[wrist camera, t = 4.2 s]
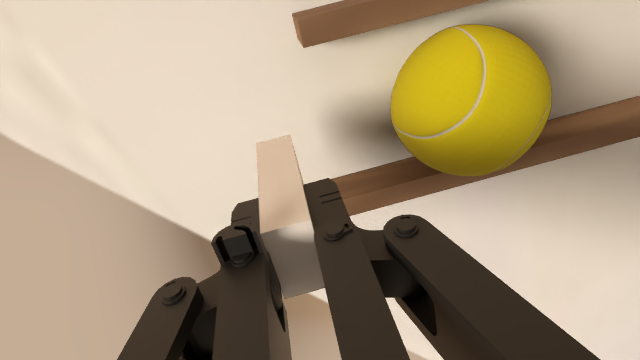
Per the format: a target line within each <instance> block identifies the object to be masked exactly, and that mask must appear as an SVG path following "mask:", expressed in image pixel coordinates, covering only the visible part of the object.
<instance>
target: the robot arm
mask: <svg viewBox="0 0 640 360" xmlns="http://www.w3.org/2000/svg"><path fill="white" fill-rule="evenodd" d="M257 168H258V192H259V198H256V199H253V200H249V201H245V202H242V203H238V204H237V205H236V207H235V209H234V210H233V212H232V217H231V222H232V223H231V225H230V226H228V227H226V228H224V229H222V230H221V231H219V232H218V233H217V234H216V235H215V236H214V238H213V240H212V242H211V244H212V246H213V248H214V250H215V253H216V255H217V257H218V259H219V262H220V264H221V268H220V270H219V271H218V272H217V273H216V274H214V275H213V276H211V277H209V278H207V279H205V280H204V281H201V282H200V283H198V284H197V283H196V281H195V280H194V279H192V278H190V277H181V278H177V279H174V280H172V281H170V282H168V283H166V284H164V285H163V286H162V287H161V288H159V289H158V290H157V292H156V293H155V294H154V296H153V297H152V299H151V300H150V302H149V304H148V306H147V307H146V309H145V311H144V313H143V315H142V316H141V318H140V320H139V322H138V324H137V325H136V327H135V329H134V331H133V332H132V334H131V336H130V338H129V339H128V341H127V343H126V345H125V346H124V348H123V350H122V352H121V354H120V355H119V357H118V359H117V360H292V357H291V348H290V339H289V330H288V321H287V312H286V309H285V307H284V304H283V302H282V293H283V296H284V299H287V298H290V297H294V296H297V295H301V294H305V293H308V292H312V291H315V290H319V289H322V288H325V289H326V294H327V298H328V302H329V307H330V311H331V315H332V319H333V323H334V328H335V333H336V336H337V341H338V345H339V350H340V354H341V358H342V360H410V359H409V356H408V354H407V351H406V348H405V346H404V344H403V341H402V339H401V336H400V334H399V331H398V329H397V326H396V324H395V321H394V319H393V316H392V314H391V311H390V309H389V307H388V304H387V302H386V299H385V298H395V300H396V302H397V303H398V304H399V305H400V307H401V308H402V309H403V310H404V312H405V313H406V314H407V315H408V316H409V318H410V319H411V320H412V321H413V322H414V324H415V325H416V326H417V327H418V329H419V330H420V331H421V332H422V333H423V335H424V336H425V337H426V338H427V340H428V341H429V342H430V343H431V344H432V346H433V347H434V348H435V349H436V350H437V352H438V353H439V354H440V355H441V357H442V358H443V359H444V360H600V359H599V358H598V357H596V356H595V355H594V354H593V353H591V352H590V351H589V350H588V349H586V348H585V347H584V346H583V345H581V344H580V343H579V342H578V341H576V340H575V339H574V338H573V337H571V336H570V335H569V334H568V333H566V332H565V331H564V330H563V329H561V328H560V327H559V326H558V325H556V324H555V323H554V322H553V321H551V320H550V319H549V318H548V317H546V316H545V315H544V314H543V313H541V312H540V311H539V310H538V309H536V308H535V307H534V306H533V305H531V304H530V303H529V302H528V301H526V300H525V299H524V298H523V297H521V296H520V295H519V294H518V293H516V292H515V291H514V290H513V289H511V288H510V287H509V286H508V285H506V284H505V283H504V282H503V281H501V280H500V279H499V278H498V277H497V276H495V275H494V274H493V273H492V272H490V271H489V270H488V269H487V268H485V267H484V266H483V265H482V264H480V263H479V262H478V261H477V260H475V259H474V258H473V257H472V256H470V255H469V254H468V253H467V252H465V251H464V250H463V249H462V248H460V247H459V246H458V245H457V244H455V243H454V242H453V241H452V240H450V239H449V238H448V237H447V236H445V235H444V234H443V233H442V232H440V231H439V230H438V229H437V228H435V227H434V226H433V225H432V224H430V223H429V222H428V221H427V220H425V219H423V218H421V217H420V216H415V215H401V216H397V217H394V218H392V219H391V220H389V221H388V222H387V223H386V224H385V226H384V229H383V230H375V231H374V230H364V229H361V228H358V227H357V226H355V225H354V224H353V222H352V221H351V219H350V217H349V214H348V212H347V209H346V207H345V204H344V202H343V199H342V197H341V194H340V192H339V189H338V187H337V184H336V183H335V182H333V181H332V180H330V179H329V178H327V179H323V180H319V181H316V182H312V183H308V184H304V183H303V180H302V176H301V172H300V169H299V165H298V162H297V158H296V154H295V151H294V147H293V144H292V140H291V136H290V135H286V136H283V137H279V138H275V139H271V140H268V141H264V142H260V143H257ZM281 291H282V293H281Z"/></svg>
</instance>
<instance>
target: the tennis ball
mask: <svg viewBox="0 0 640 360" xmlns="http://www.w3.org/2000/svg"><path fill="white" fill-rule="evenodd" d="M550 110H551V83H550V79H549V76H548V73H547V70H546V68H545V66H544V64H543V63H542V61H541V59H540V58H539V57H538V55H537V54H536V53H535V52H534V50H533V49H532V48H531V47H530V46H529V45H527V44H526V43H525V42H524V41H522V40H521V39H520V38H518V37H516V36H515V35H513V34H511V33H509V32H507V31H505V30H502V29H499V28H496V27H491V26H486V25H458V26H453V27H450V28H447V29H444V30H442V31H440V32H438V33H436V34H435V35H433V36H431V37H430V38H429V39H427V40H426V41H425V42H423V43H422V44H421V45H420V46H419V47H418V48H417V49H416V50H415V51H414V52H413V53H412V54H411V55H410V57H409V58H408V59H407V60H406V62H405V64H404V65H403V67H402V68H401V70H400V72H399V74H398V77H397V79H396V82H395V84H394V88H393V92H392V97H391V118H392V123H393V127H394V129H395V131H396V133H397V135H398V137H399V138H400V140H401V142H402V143H403V144H404V146H405V147H406V148H407V149H408V151H409V152H410V153H411V154H412V155H413V156H415V157H416V158H417V159H418V160H420V161H421V162H423V163H424V164H426V165H427V166H429V167H431V168H433V169H436V170H438V171H441V172H444V173H447V174H452V175H457V176H480V175H486V174H489V173H491V172H494V171H498V170H501V169H504V168H506V167H507V166H509V165H511V164H512V163H513V162H515V161H516V160H517V159H519V158H520V157H521V156H522V155H523V154H524V153H525V152H526V151H527V150H528V149H529V148H530V147H531V146H532V145H533V144H534V142H535V141H536V140H537V138H538V137H539V135H540V133H541V132H542V130H543V128H544V126H545V124H546V122H547V119H548V117H549V114H550Z"/></svg>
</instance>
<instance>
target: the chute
mask: <svg viewBox="0 0 640 360" xmlns="http://www.w3.org/2000/svg"><path fill="white" fill-rule="evenodd" d="M484 1H487V0H344V1H340V2H336V3H332V4H328V5H324V6H320V7H316V8H312V9H309V10H305V11H301V12H297V13H293V14H292V16H293V20H294V25H295V29H296V33H297V38H298V40H299V41H300V43H301V44H302V46H303V47H304V48H306V47H309V46H313V45H317V44H321V43H325V42H329V41H333V40H336V39H340V38H344V37H348V36H352V35H356V34H360V33H364V32H367V31H371V30H375V29H379V28H383V27H387V26H391V25H395V24H398V23H402V22H406V21H410V20H414V19H418V18H422V17H425V16H429V15H433V14H437V13H441V12H445V11H449V10H453V9H456V8H460V7H464V6H468V5H472V4H476V3H480V2H484ZM636 137H640V97H634V98H630V99H626V100H623V101H619V102H615V103H612V104H608V105H604V106H601V107H597V108H593V109H589V110H586V111H582V112H578V113H575V114H571V115H567V116H564V117H560V118H556V119H552V120H549V121H547V122H546V124H545V126H544V128H543V130H542V132H541V133H540V135H539V137H538V138H537V140H536V141H535V142H534V144H533V145H532V146H531V147H530V148H529V149H528V150H527V151H526V152H525V153H524V154H523V155H522V156H521V157H520V158H519V159H517V160H516V161H515V162H513V163H512V164H511V165H509V166H507V167H506V168H504V169H501V170H498V171H494V172H491V173H489V174H486V175H480V176H457V175H452V174H447V173H444V172H441V171H438V170H436V169H433V168H431V167H429V166H427V165H426V164H424V163H423V162H421V161H420V160H418V159H417V158H416V157H412V158H408V159H405V160H401V161H397V162H393V163H390V164H386V165H382V166H379V167H375V168H371V169H368V170H364V171H360V172H356V173H353V174H349V175H345V176H342V177H338V178H334V179H331V180H332V181H333V182H335V183H336V184H337V187H338V189H339V192H340V194H341V197H342V199H343V202H344V204H345V207H346V209H347V212H348V214H349V216H352V215H355V214H359V213H363V212H366V211H370V210H374V209H377V208H381V207H385V206H388V205H392V204H395V203H399V202H403V201H406V200H410V199H414V198H417V197H421V196H425V195H428V194H432V193H436V192H439V191H443V190H447V189H450V188H454V187H458V186H461V185H465V184H468V183H472V182H476V181H479V180H483V179H487V178H490V177H494V176H498V175H501V174H505V173H509V172H512V171H516V170H520V169H523V168H527V167H531V166H534V165H538V164H541V163H545V162H549V161H552V160H556V159H560V158H563V157H567V156H571V155H574V154H578V153H582V152H585V151H589V150H593V149H596V148H600V147H603V146H607V145H611V144H614V143H618V142H622V141H625V140H629V139H633V138H636Z"/></svg>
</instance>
